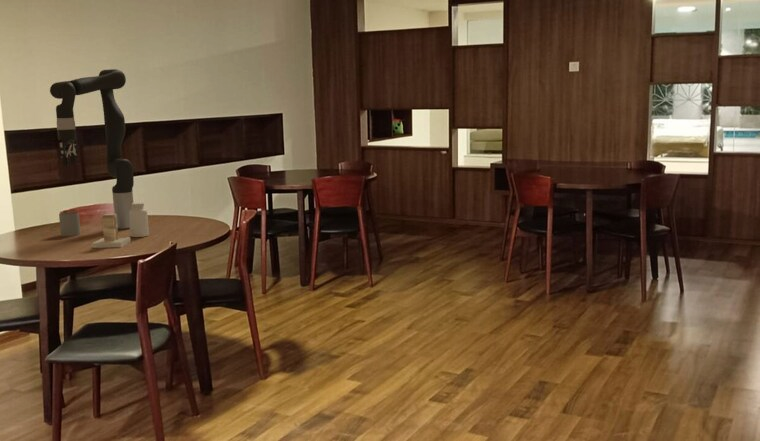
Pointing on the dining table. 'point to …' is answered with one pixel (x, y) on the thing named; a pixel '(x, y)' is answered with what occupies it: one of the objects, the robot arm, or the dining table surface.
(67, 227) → the cup
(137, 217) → the pill bottle
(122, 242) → the block
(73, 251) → the dining table surface
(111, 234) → the maple block
